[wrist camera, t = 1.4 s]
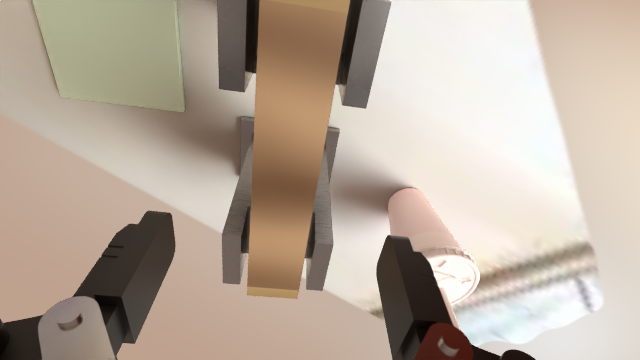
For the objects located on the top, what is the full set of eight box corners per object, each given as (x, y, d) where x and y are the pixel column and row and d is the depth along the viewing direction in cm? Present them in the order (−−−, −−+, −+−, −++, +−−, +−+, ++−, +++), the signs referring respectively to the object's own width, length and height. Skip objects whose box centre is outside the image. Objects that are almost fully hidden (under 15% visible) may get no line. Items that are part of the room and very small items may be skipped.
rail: (269, -34, 13) (260, -29, 11) (345, -21, 14) (352, -14, 11) (253, 257, 23) (246, 295, 20) (298, 260, 23) (297, 298, 21)
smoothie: (396, 236, 36) (437, 375, 24) (360, 200, 33) (387, 338, 21) (451, 205, 34) (525, 342, 22) (418, 163, 31) (483, 296, 19)
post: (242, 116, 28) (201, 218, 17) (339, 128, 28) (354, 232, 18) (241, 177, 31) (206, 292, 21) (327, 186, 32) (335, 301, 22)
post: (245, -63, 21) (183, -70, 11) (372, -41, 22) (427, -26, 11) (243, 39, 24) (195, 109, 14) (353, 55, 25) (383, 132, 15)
